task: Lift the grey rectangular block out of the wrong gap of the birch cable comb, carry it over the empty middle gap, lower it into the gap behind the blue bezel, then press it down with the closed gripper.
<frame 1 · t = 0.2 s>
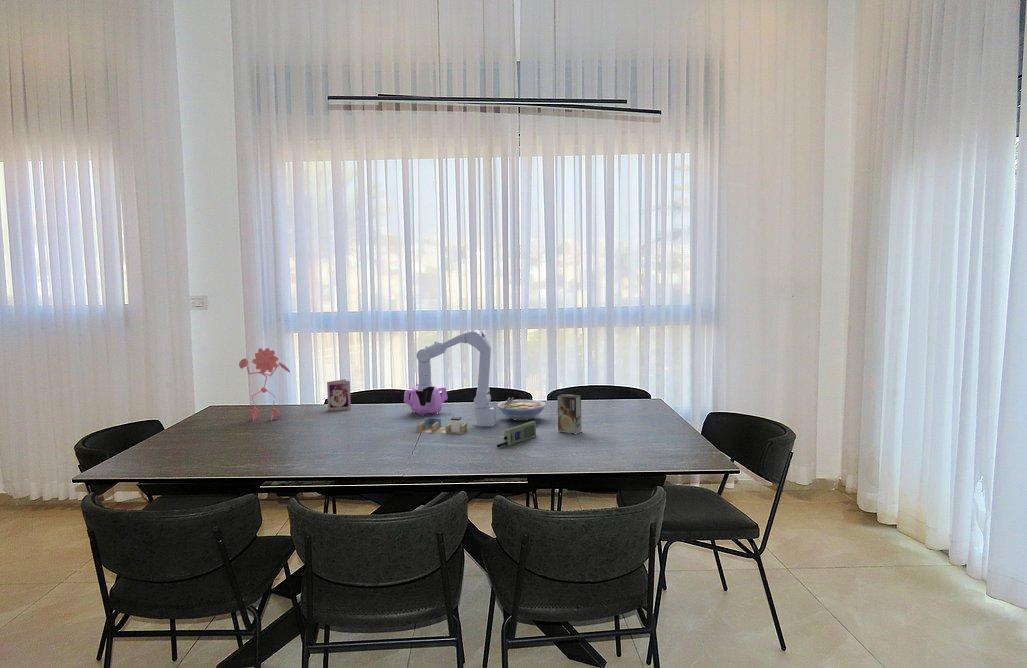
hand: (425, 404, 296), 10 cm above the table, tool pointing down, fingers open, 7 cm apart
figurine: (268, 418, 317), on the table
ramen bowl: (521, 419, 307), on the table
coffee box: (569, 432, 281), on the table
handheld radio: (516, 443, 265), on the table
teapot: (426, 413, 324), on the table
cable comb: (442, 432, 282), on the table
greeting card: (339, 409, 338), on the table
grey rectangular block: (456, 431, 281), point 1 cm above the table, touching cable comb
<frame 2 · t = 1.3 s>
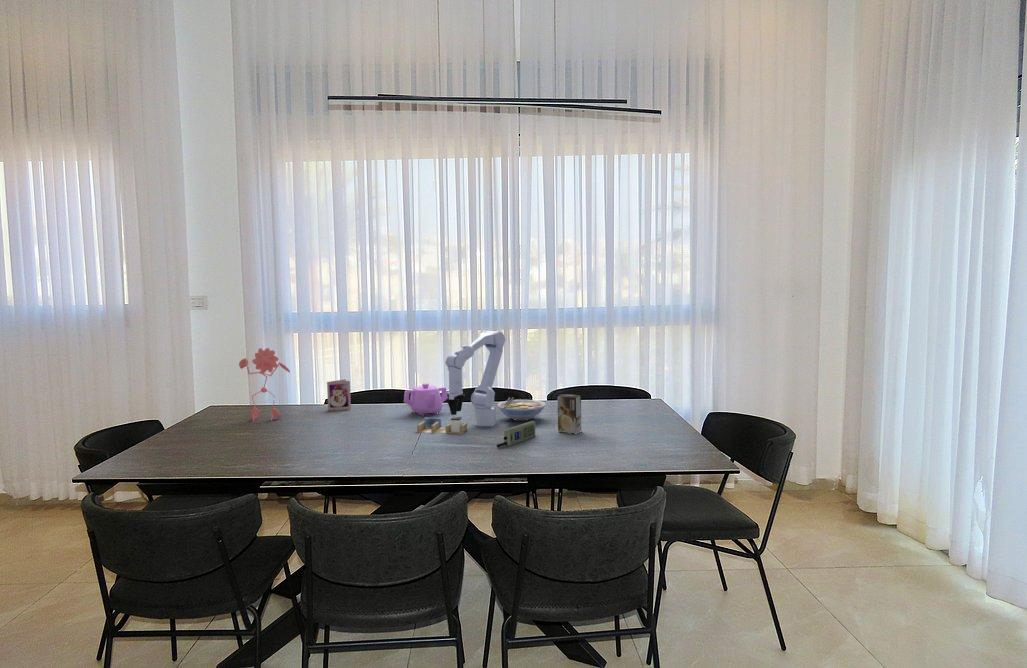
hand: (456, 412, 280), 9 cm above the table, tool pointing down, fingers open, 7 cm apart
nothing on the table moved.
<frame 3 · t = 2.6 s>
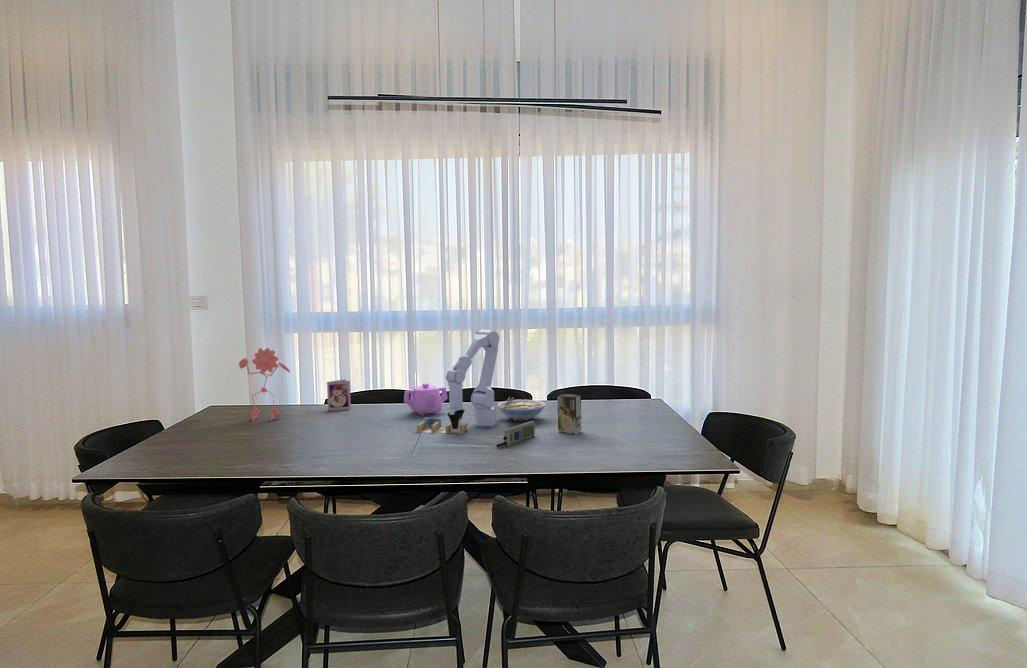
hand: (456, 427, 281), 3 cm above the table, tool pointing down, fingers closed on grey rectangular block, 4 cm apart
grey rectangular block: (456, 431, 281), point 1 cm above the table, touching cable comb, gripper
everything else where it was.
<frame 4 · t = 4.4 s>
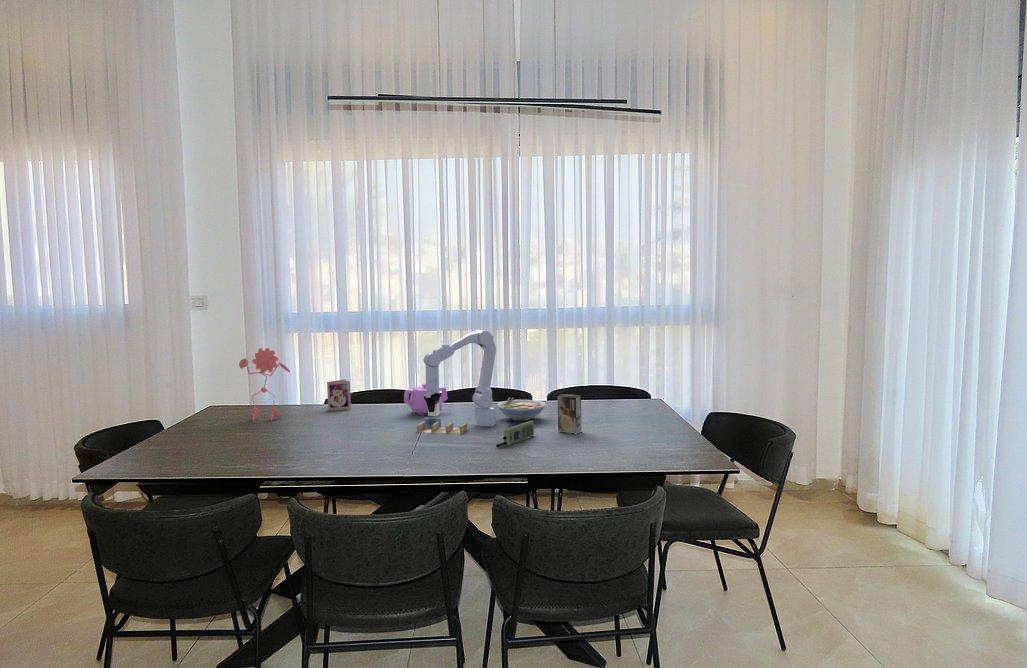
hand: (433, 410, 282), 10 cm above the table, tool pointing down, fingers closed on grey rectangular block, 4 cm apart
grey rectangular block: (433, 414, 282), point 8 cm above the table, touching gripper
everything else where it was.
when the fingers open (4 cm above the table, at t = 6.2 s): grey rectangular block stays where it is, resting on cable comb.
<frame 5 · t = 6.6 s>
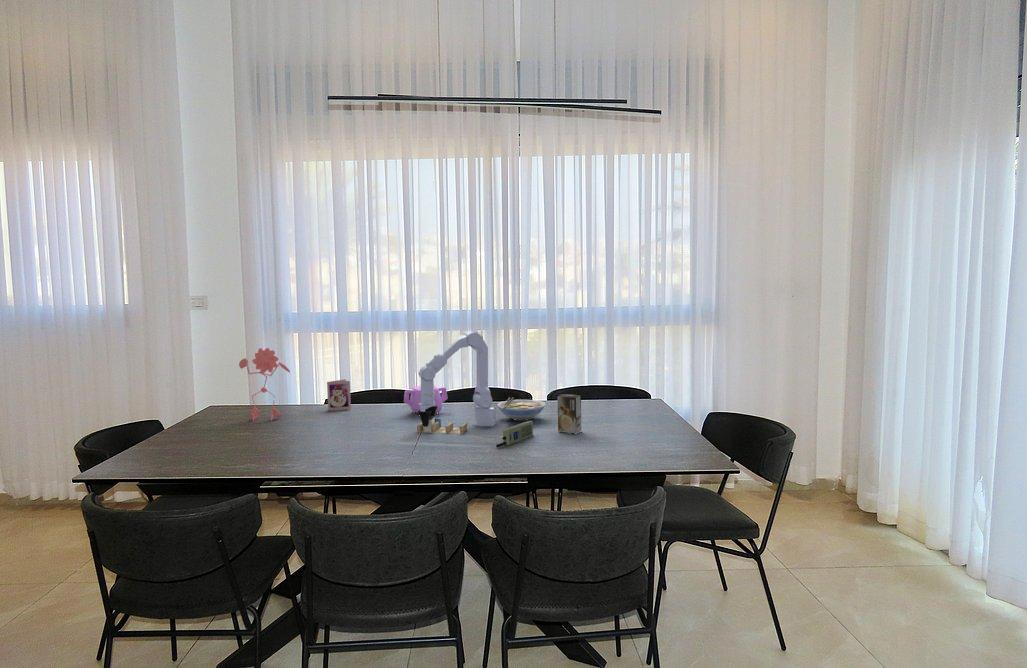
hand: (428, 424, 283), 4 cm above the table, tool pointing down, fingers open, 7 cm apart
grey rectangular block: (429, 430, 283), point 1 cm above the table, touching cable comb
everything else where it was.
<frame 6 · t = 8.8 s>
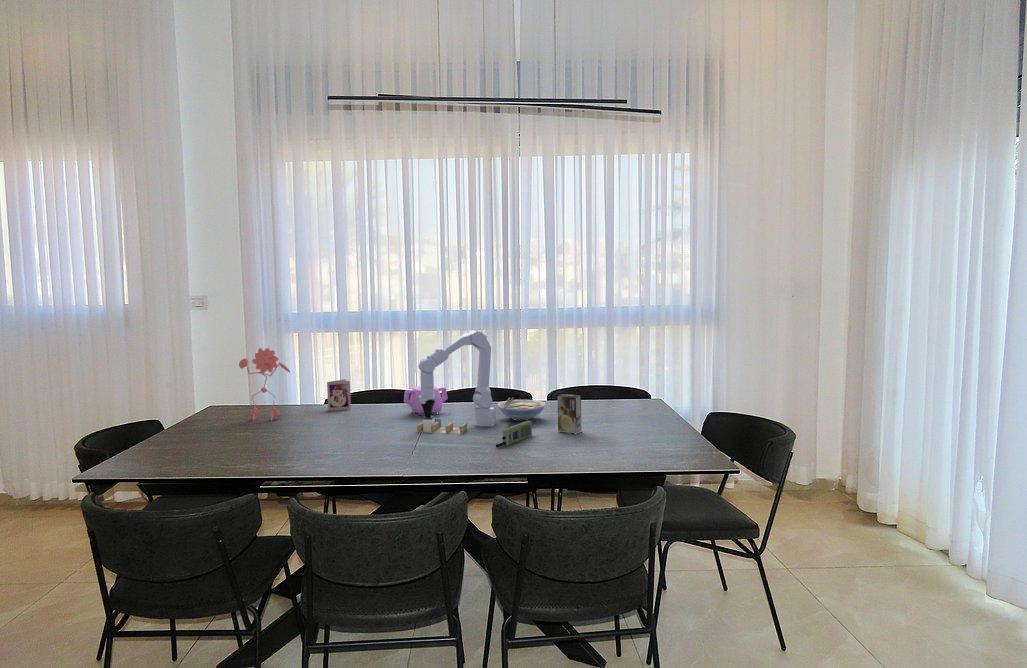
hand: (428, 417, 283), 7 cm above the table, tool pointing down, fingers closed, pressing on grey rectangular block
grey rectangular block: (429, 430, 283), point 1 cm above the table, touching cable comb, gripper
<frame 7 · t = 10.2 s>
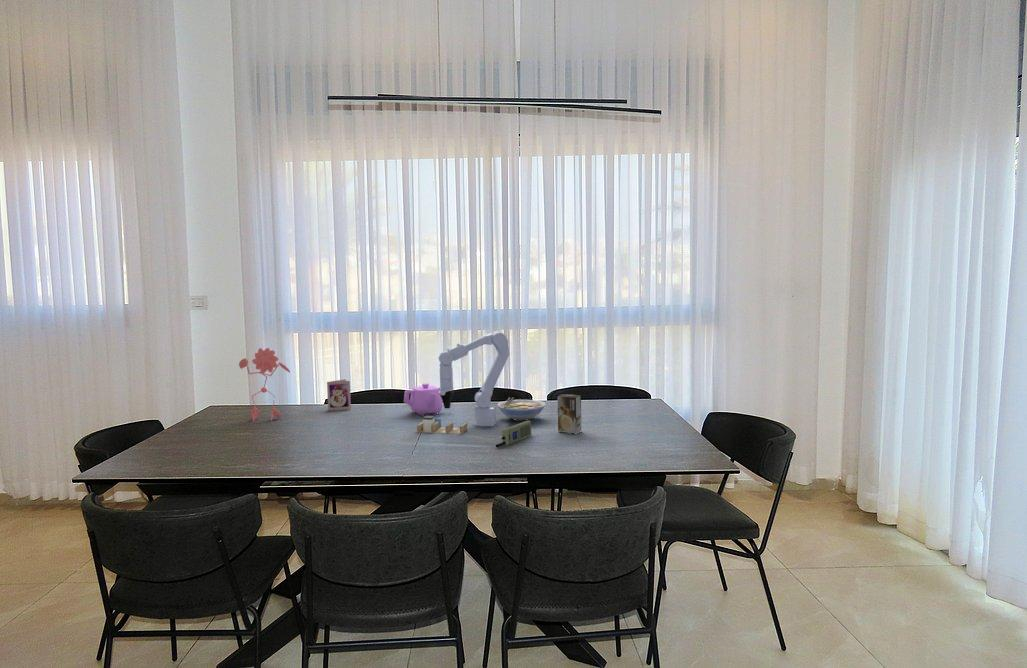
hand: (447, 408, 290), 9 cm above the table, tool pointing down, fingers closed
grey rectangular block: (429, 430, 283), point 1 cm above the table, touching cable comb
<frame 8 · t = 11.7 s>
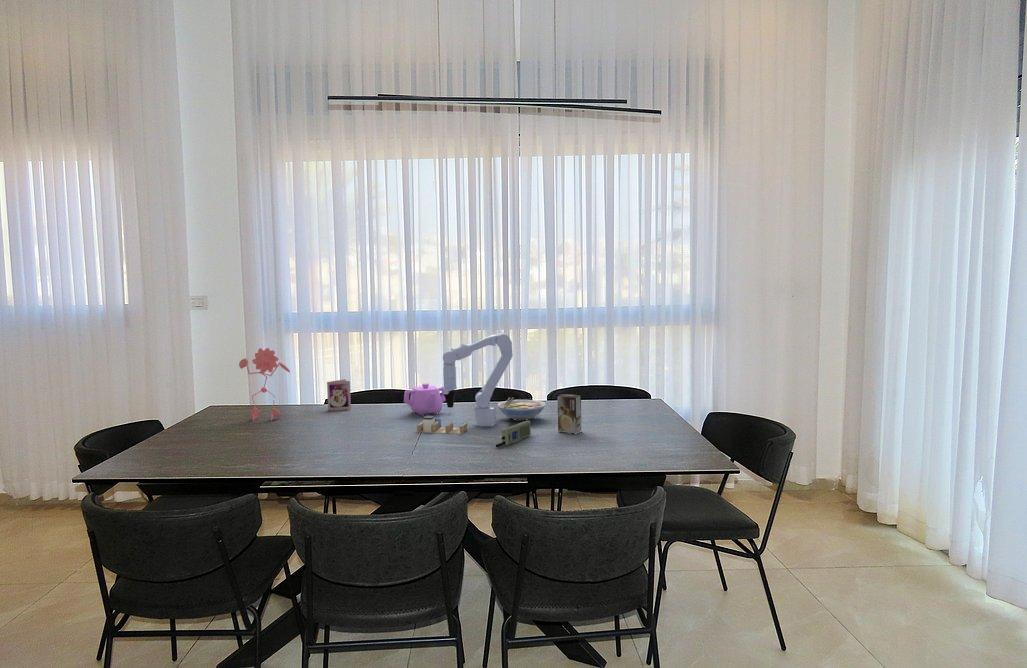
hand: (450, 407, 291), 9 cm above the table, tool pointing down, fingers closed
at the end: grey rectangular block 0.3 cm from the target spot on the cable comb, point 1.0 cm above the cable comb's base; grey rectangular block tilted 0°; the gripper is holding nothing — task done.
